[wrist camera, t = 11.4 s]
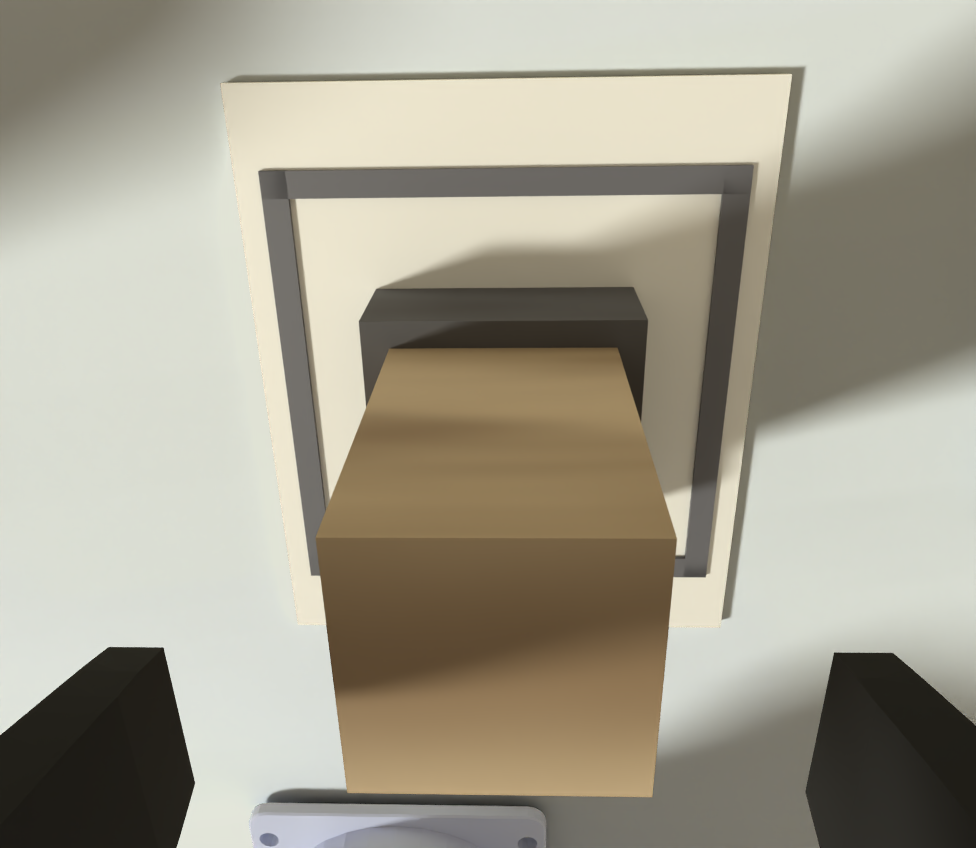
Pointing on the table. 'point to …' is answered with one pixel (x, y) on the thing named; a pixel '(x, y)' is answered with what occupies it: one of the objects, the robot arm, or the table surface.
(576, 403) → the stamp
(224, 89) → the marked card
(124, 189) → the table surface
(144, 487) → the table surface
